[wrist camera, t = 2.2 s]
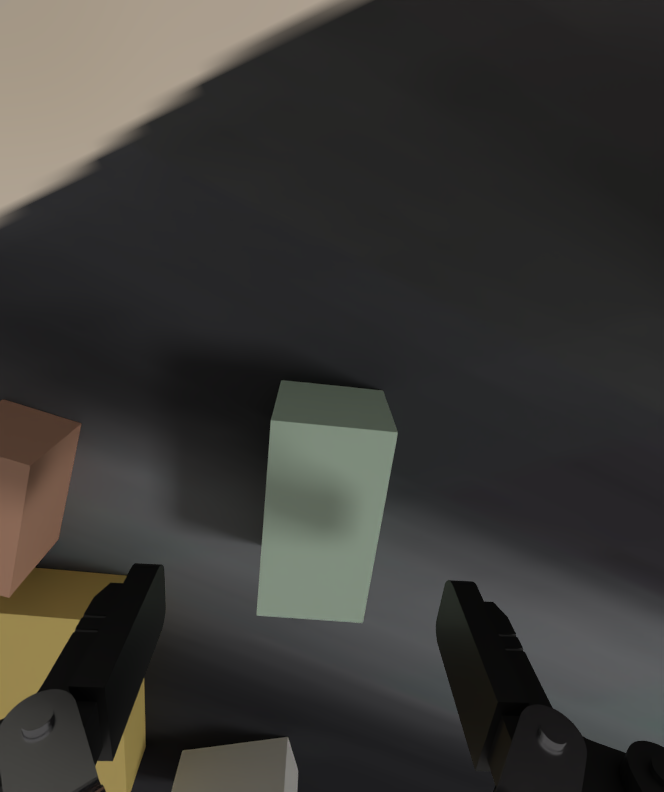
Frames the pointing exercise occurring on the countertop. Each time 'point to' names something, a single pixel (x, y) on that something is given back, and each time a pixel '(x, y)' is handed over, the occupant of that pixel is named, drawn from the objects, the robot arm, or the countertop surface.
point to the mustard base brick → (43, 643)
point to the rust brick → (31, 487)
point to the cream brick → (238, 768)
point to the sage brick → (324, 500)
